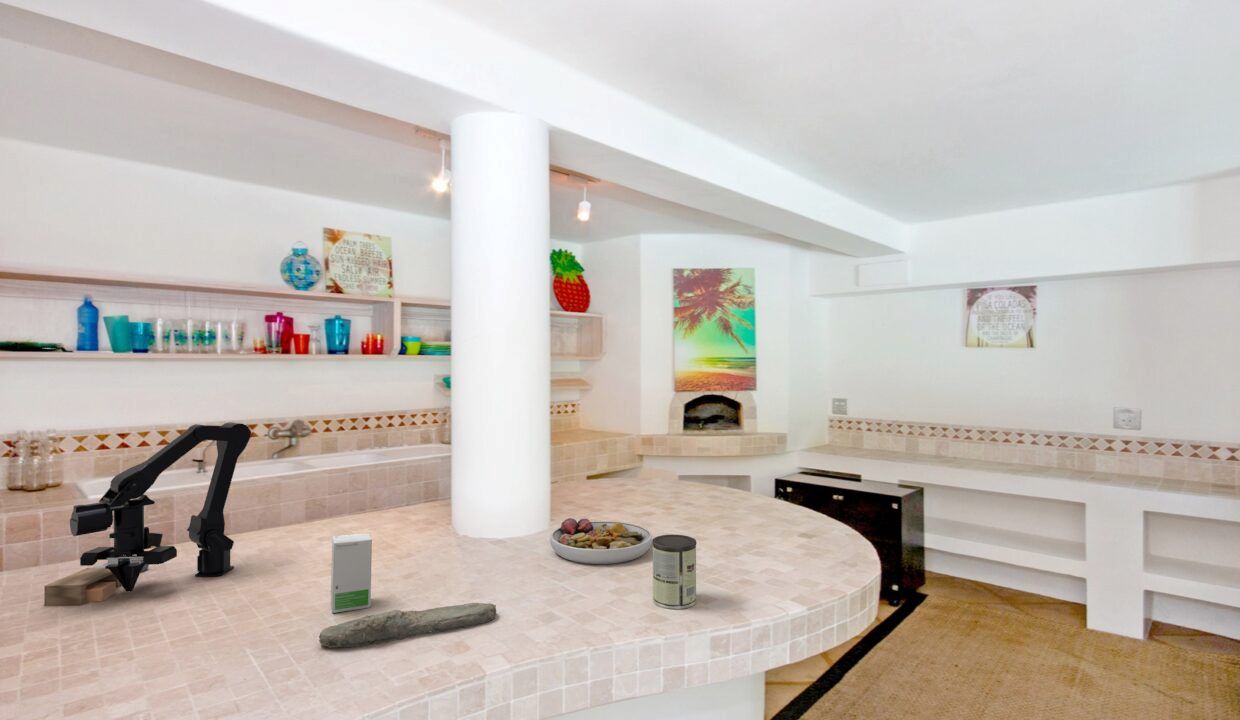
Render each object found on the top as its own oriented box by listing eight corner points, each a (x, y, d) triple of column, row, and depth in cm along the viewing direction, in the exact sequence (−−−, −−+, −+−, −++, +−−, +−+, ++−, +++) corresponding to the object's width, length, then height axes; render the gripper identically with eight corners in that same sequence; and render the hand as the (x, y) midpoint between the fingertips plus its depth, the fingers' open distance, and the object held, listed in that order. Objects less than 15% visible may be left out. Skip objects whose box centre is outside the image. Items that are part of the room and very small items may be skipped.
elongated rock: (501, 632, 130) (490, 617, 139) (502, 606, 131) (491, 593, 140) (318, 656, 115) (318, 637, 124) (320, 627, 116) (320, 611, 125)
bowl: (670, 546, 186) (670, 520, 186) (616, 575, 161) (616, 545, 161) (589, 531, 202) (589, 507, 202) (528, 556, 177) (528, 528, 177)
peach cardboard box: (115, 594, 147) (115, 581, 147) (102, 602, 143) (102, 589, 143) (77, 596, 146) (77, 583, 146) (62, 604, 141) (62, 591, 141)
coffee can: (658, 590, 150) (658, 532, 150) (700, 595, 146) (700, 536, 146) (646, 606, 140) (646, 544, 140) (691, 612, 137) (691, 548, 137)
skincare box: (331, 614, 135) (331, 543, 135) (330, 603, 141) (330, 536, 141) (372, 607, 139) (372, 538, 139) (369, 597, 145) (369, 531, 145)
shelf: (121, 585, 152) (121, 567, 152) (81, 604, 140) (81, 585, 140) (87, 586, 152) (87, 567, 152) (44, 605, 140) (44, 585, 140)
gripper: (191, 516, 155) (192, 578, 155) (115, 517, 154) (115, 579, 154) (160, 529, 144) (160, 595, 144) (77, 530, 143) (78, 597, 143)
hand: (129, 591), depth 147 cm, fingers closed
